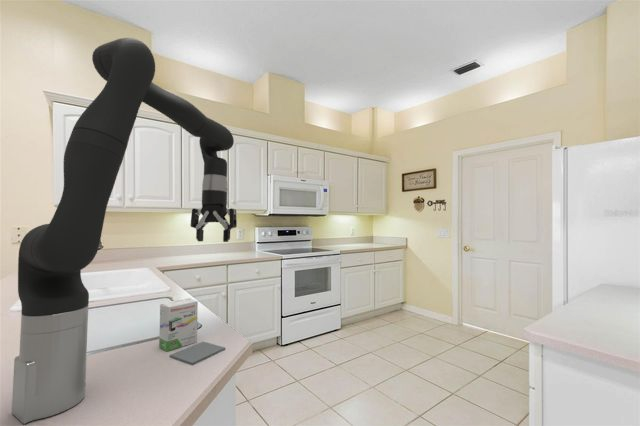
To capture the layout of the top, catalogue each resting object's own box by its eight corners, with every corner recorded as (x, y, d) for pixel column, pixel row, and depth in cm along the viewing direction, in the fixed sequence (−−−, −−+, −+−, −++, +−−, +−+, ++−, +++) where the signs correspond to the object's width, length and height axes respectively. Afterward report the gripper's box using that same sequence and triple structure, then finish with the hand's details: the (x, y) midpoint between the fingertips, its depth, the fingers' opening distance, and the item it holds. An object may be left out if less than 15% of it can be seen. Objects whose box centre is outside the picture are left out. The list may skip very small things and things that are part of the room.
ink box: (166, 352, 75) (167, 306, 76) (158, 347, 78) (159, 303, 79) (197, 342, 82) (198, 300, 82) (189, 338, 85) (190, 297, 85)
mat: (192, 365, 68) (192, 363, 68) (169, 357, 72) (169, 355, 72) (225, 349, 77) (225, 347, 77) (203, 343, 81) (203, 341, 81)
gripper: (187, 189, 89) (184, 241, 88) (230, 188, 87) (229, 242, 86) (200, 192, 96) (198, 241, 95) (240, 192, 94) (239, 241, 93)
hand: (213, 241), depth 90 cm, fingers open, 8 cm apart
